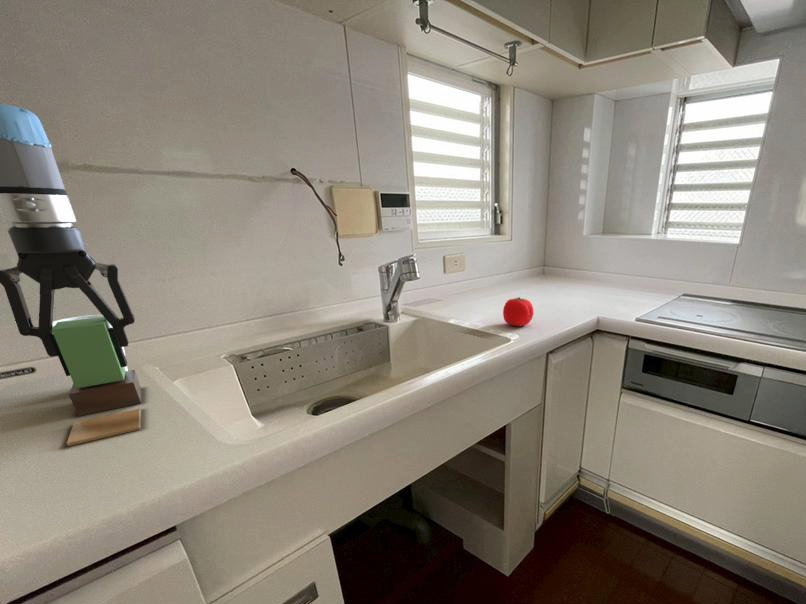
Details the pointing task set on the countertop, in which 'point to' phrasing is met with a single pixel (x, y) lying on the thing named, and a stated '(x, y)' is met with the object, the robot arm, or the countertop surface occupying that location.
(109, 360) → the green block
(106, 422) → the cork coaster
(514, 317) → the tomato
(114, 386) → the walnut base
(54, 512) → the countertop surface
